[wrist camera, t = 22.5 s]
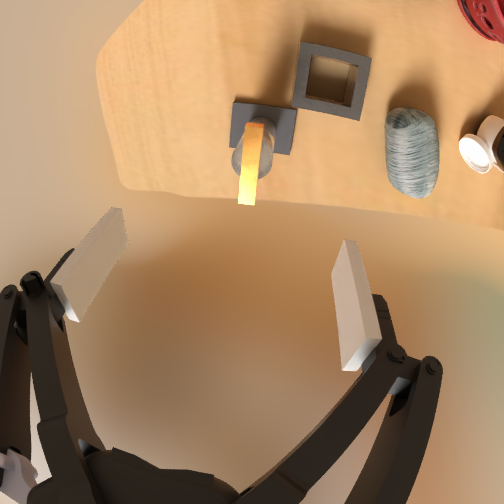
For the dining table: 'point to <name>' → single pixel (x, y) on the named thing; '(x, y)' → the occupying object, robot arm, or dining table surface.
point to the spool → (411, 151)
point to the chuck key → (254, 156)
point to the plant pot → (485, 17)
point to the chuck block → (353, 88)
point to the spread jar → (485, 146)
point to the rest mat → (278, 115)
